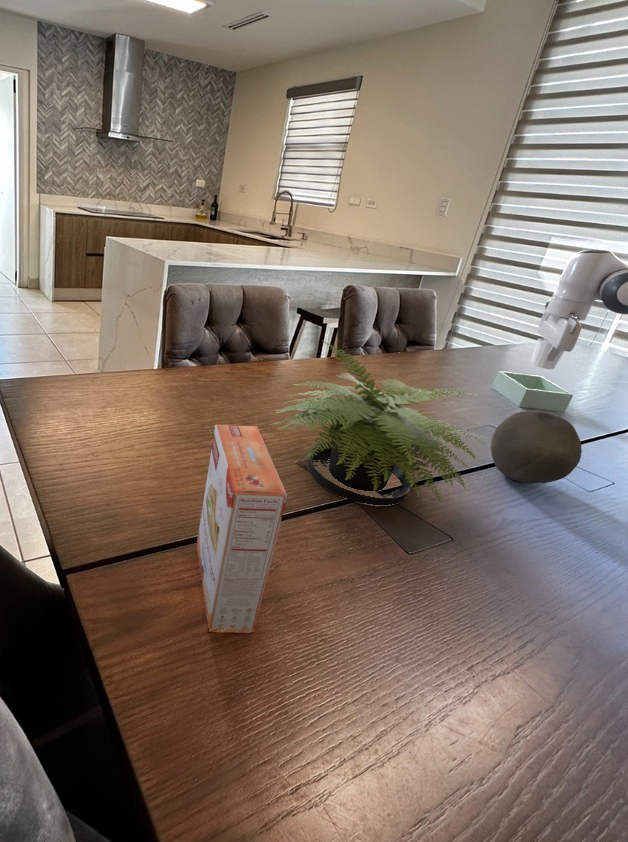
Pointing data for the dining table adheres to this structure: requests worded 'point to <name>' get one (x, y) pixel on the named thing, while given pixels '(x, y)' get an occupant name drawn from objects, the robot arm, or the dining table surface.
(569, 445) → the dark brown rounded lump
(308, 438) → the dining table surface
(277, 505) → the cracker box
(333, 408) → the fern plant
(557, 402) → the dish tub
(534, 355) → the white short cylinder
